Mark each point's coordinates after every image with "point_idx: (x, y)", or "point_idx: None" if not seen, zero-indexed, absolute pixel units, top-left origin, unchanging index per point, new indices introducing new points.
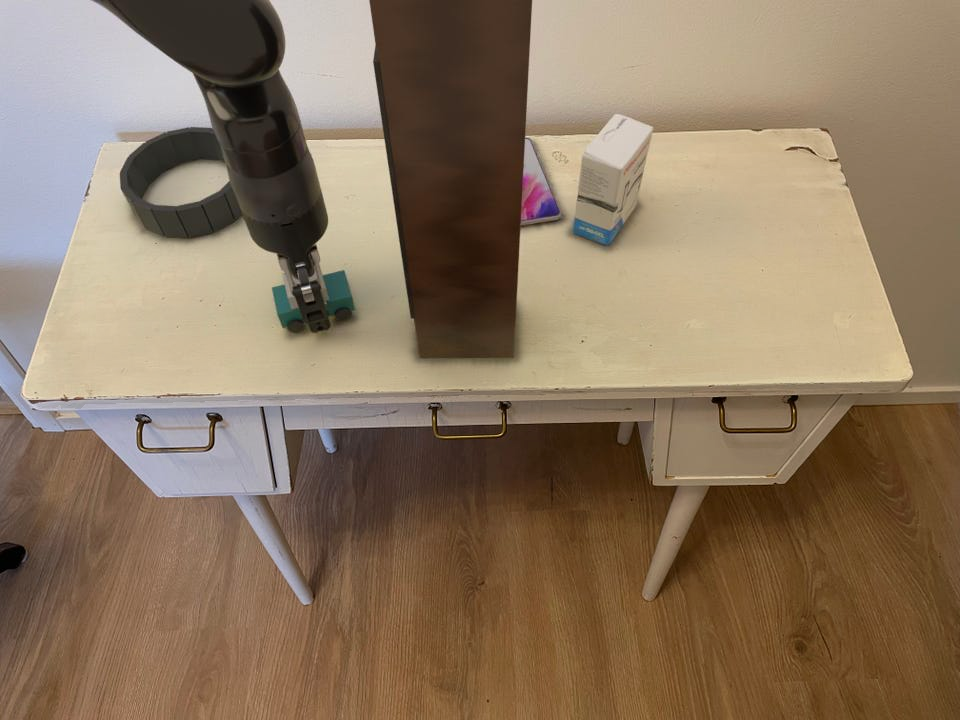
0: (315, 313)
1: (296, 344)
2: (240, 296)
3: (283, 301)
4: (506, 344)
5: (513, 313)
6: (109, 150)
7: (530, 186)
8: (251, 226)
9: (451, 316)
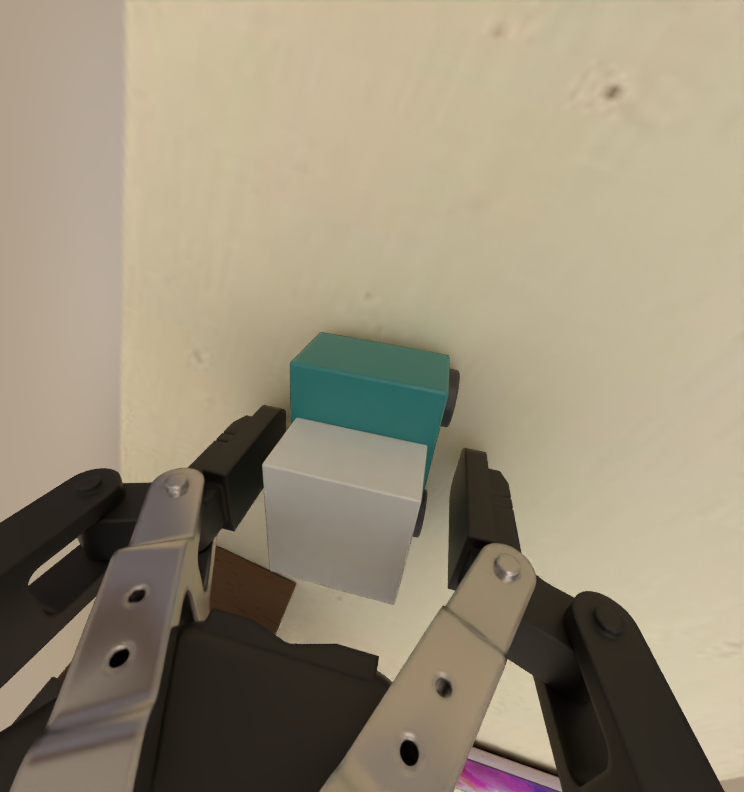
0: (81, 540)
1: (275, 340)
2: (595, 216)
3: (348, 405)
4: None
5: None
6: None
7: (461, 779)
8: None
9: None
